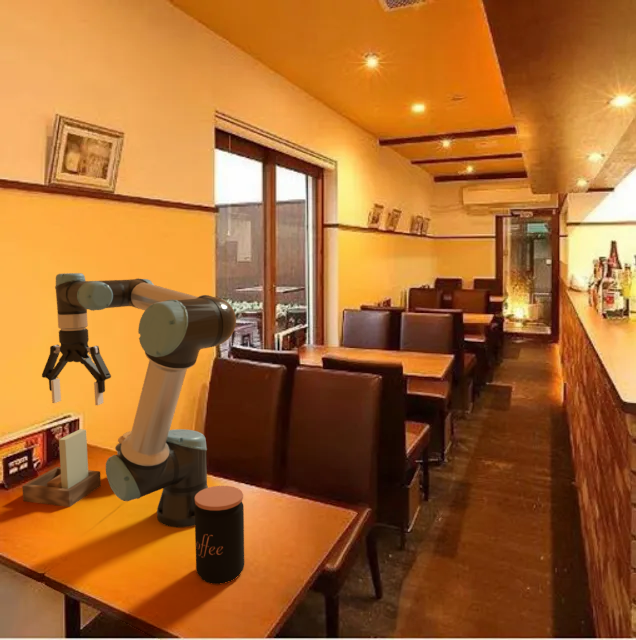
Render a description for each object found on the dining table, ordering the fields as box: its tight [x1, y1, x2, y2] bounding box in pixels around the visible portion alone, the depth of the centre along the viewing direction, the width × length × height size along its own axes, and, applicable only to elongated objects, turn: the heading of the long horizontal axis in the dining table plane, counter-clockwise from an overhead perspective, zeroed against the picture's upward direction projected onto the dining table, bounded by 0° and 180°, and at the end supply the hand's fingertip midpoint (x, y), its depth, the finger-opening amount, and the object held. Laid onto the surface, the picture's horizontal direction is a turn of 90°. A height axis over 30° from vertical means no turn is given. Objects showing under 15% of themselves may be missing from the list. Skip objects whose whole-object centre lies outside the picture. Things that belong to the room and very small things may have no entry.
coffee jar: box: [194, 485, 245, 585], centre depth 123 cm, size 11×11×18 cm
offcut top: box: [47, 474, 62, 488], centre depth 159 cm, size 3×8×2 cm, turn 171°
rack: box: [21, 466, 102, 508], centre depth 160 cm, size 15×14×6 cm
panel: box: [58, 428, 89, 489], centre depth 158 cm, size 2×9×18 cm, turn 167°
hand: (77, 403), depth 156 cm, fingers open, 13 cm apart
